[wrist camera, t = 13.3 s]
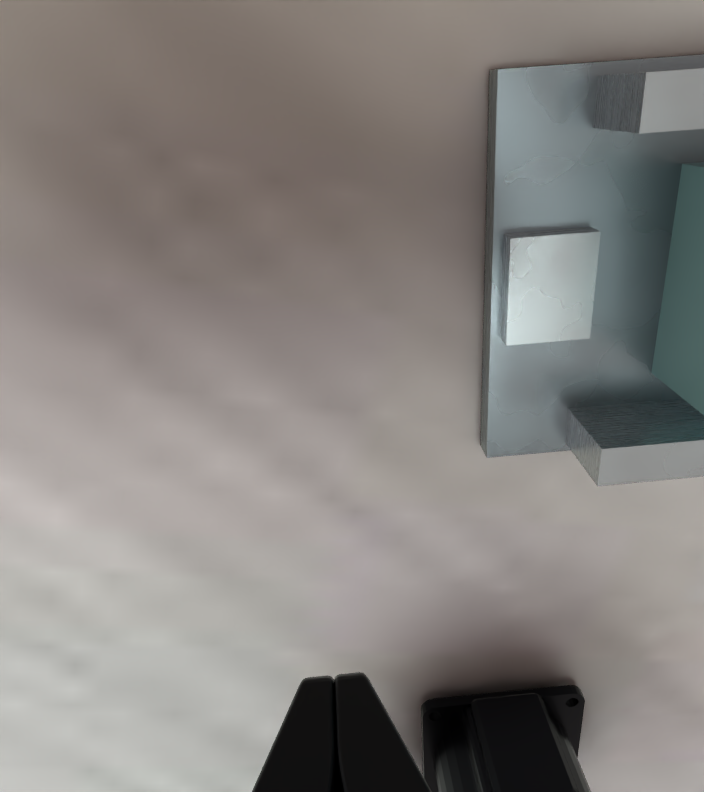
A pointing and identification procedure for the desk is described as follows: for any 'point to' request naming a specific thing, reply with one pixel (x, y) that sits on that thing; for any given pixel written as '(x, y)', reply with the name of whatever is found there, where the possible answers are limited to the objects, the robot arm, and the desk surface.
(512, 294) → the plate
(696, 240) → the block
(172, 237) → the desk surface
